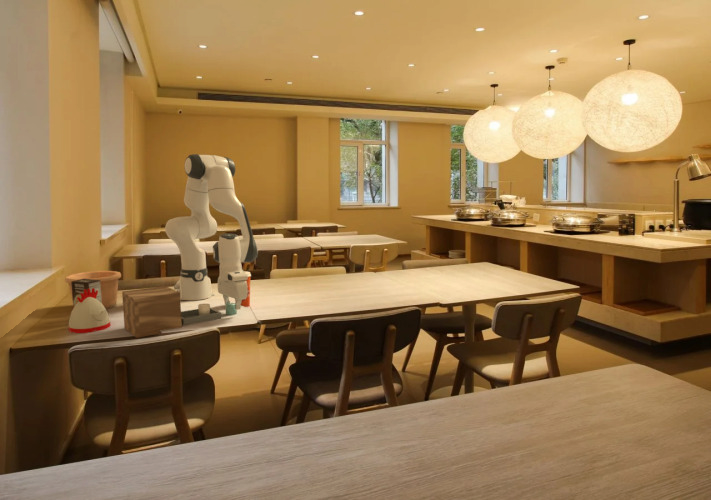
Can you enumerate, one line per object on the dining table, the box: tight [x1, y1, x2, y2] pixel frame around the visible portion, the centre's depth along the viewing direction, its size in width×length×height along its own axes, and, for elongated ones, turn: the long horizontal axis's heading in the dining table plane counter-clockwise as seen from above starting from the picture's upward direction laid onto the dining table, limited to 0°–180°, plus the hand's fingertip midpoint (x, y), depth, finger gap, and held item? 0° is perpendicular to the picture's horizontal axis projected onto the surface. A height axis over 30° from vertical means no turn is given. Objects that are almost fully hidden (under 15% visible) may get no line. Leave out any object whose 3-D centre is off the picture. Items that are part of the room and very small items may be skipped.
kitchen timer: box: [68, 288, 111, 334], centre depth 186 cm, size 14×14×15 cm
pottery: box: [64, 270, 122, 310], centre depth 219 cm, size 22×22×14 cm
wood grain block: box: [121, 285, 183, 339], centre depth 184 cm, size 16×16×14 cm
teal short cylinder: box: [224, 302, 238, 316], centre depth 202 cm, size 4×4×5 cm
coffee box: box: [71, 279, 102, 308], centre depth 197 cm, size 9×6×16 cm
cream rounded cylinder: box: [197, 303, 211, 316], centre depth 197 cm, size 4×4×5 cm
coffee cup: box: [234, 270, 252, 308], centre depth 219 cm, size 8×8×15 cm
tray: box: [181, 307, 222, 326], centre depth 195 cm, size 12×15×3 cm
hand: (232, 307), depth 202 cm, fingers open, 8 cm apart
